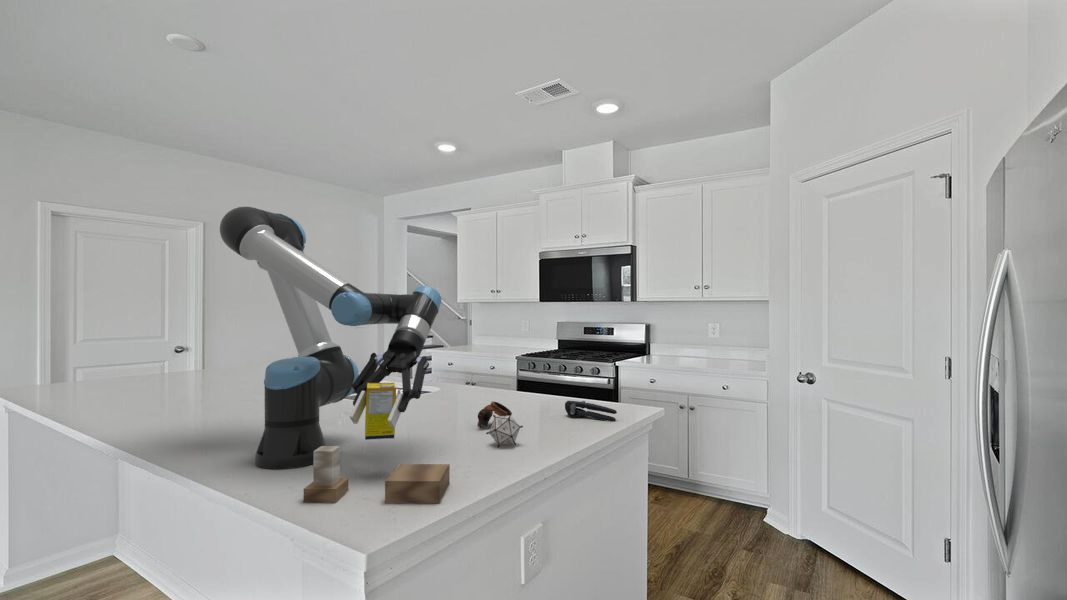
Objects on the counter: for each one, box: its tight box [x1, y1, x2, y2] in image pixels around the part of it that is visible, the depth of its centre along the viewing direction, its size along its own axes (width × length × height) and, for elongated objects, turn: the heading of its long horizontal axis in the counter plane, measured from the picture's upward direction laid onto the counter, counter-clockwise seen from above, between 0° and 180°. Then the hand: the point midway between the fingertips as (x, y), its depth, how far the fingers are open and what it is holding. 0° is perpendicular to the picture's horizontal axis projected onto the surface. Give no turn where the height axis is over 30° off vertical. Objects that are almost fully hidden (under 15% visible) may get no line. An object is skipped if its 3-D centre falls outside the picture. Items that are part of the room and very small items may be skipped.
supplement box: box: [364, 382, 397, 441], centre depth 108 cm, size 6×6×11 cm
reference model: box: [302, 445, 350, 504], centre depth 96 cm, size 6×6×9 cm
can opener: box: [564, 400, 618, 422], centre depth 163 cm, size 18×7×6 cm, turn 60°
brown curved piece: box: [477, 400, 513, 428], centre depth 151 cm, size 12×10×8 cm
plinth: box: [384, 463, 451, 504], centre depth 97 cm, size 10×10×4 cm
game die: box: [485, 413, 524, 449], centre depth 131 cm, size 9×8×10 cm
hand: (372, 422), depth 104 cm, fingers closed on supplement box, 8 cm apart
